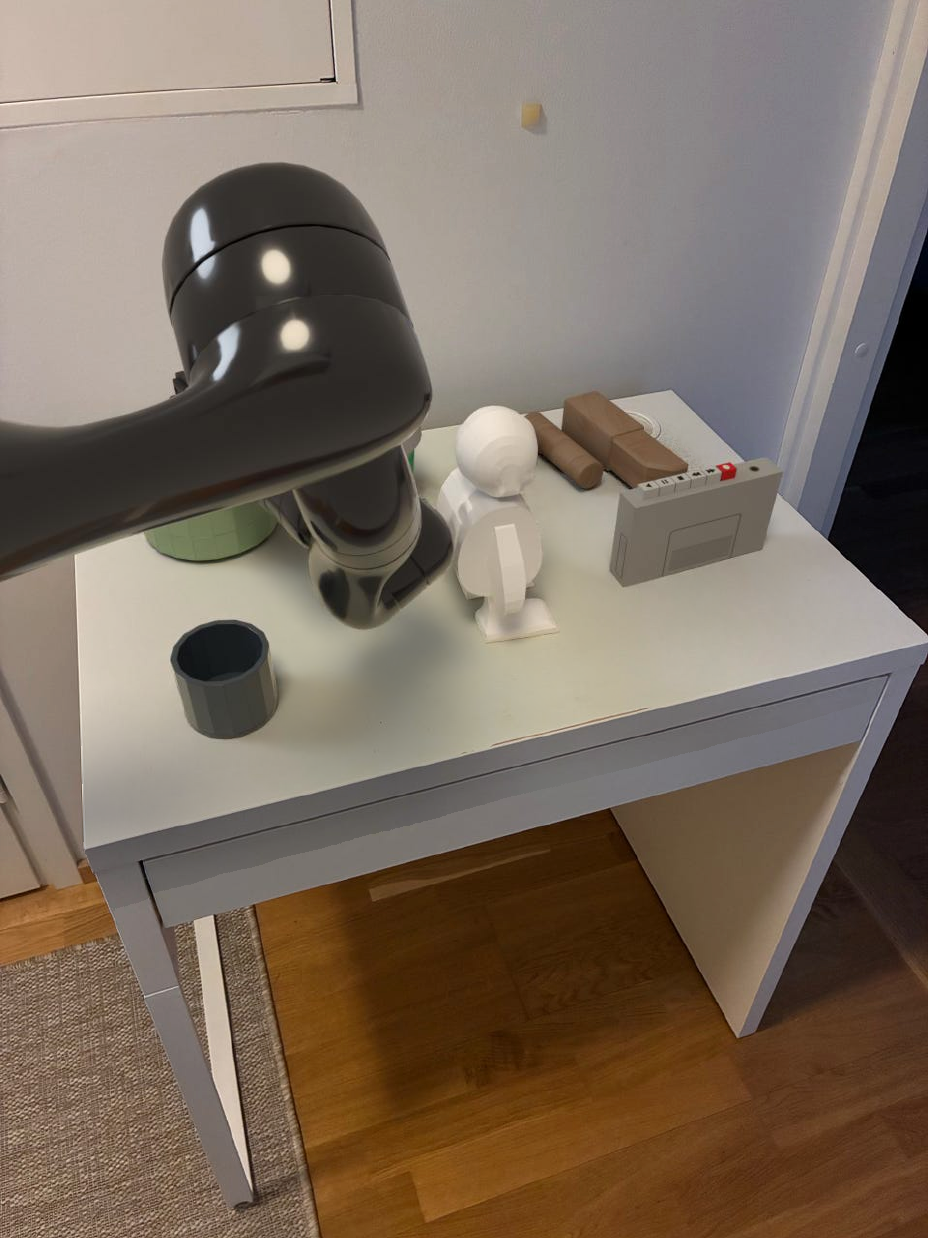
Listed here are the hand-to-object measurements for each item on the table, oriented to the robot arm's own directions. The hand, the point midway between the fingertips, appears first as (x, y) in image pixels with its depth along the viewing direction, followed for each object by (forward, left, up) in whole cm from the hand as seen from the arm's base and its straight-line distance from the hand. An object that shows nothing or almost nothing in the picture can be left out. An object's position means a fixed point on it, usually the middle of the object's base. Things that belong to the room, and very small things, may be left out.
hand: (191, 377), depth 89 cm
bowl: (-1, -3, -14) cm, 15 cm away
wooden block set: (+36, -11, -15) cm, 40 cm away
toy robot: (+19, -26, -15) cm, 35 cm away
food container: (+17, -7, -15) cm, 23 cm away
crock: (-6, -28, -14) cm, 32 cm away
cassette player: (+39, -28, -15) cm, 50 cm away
